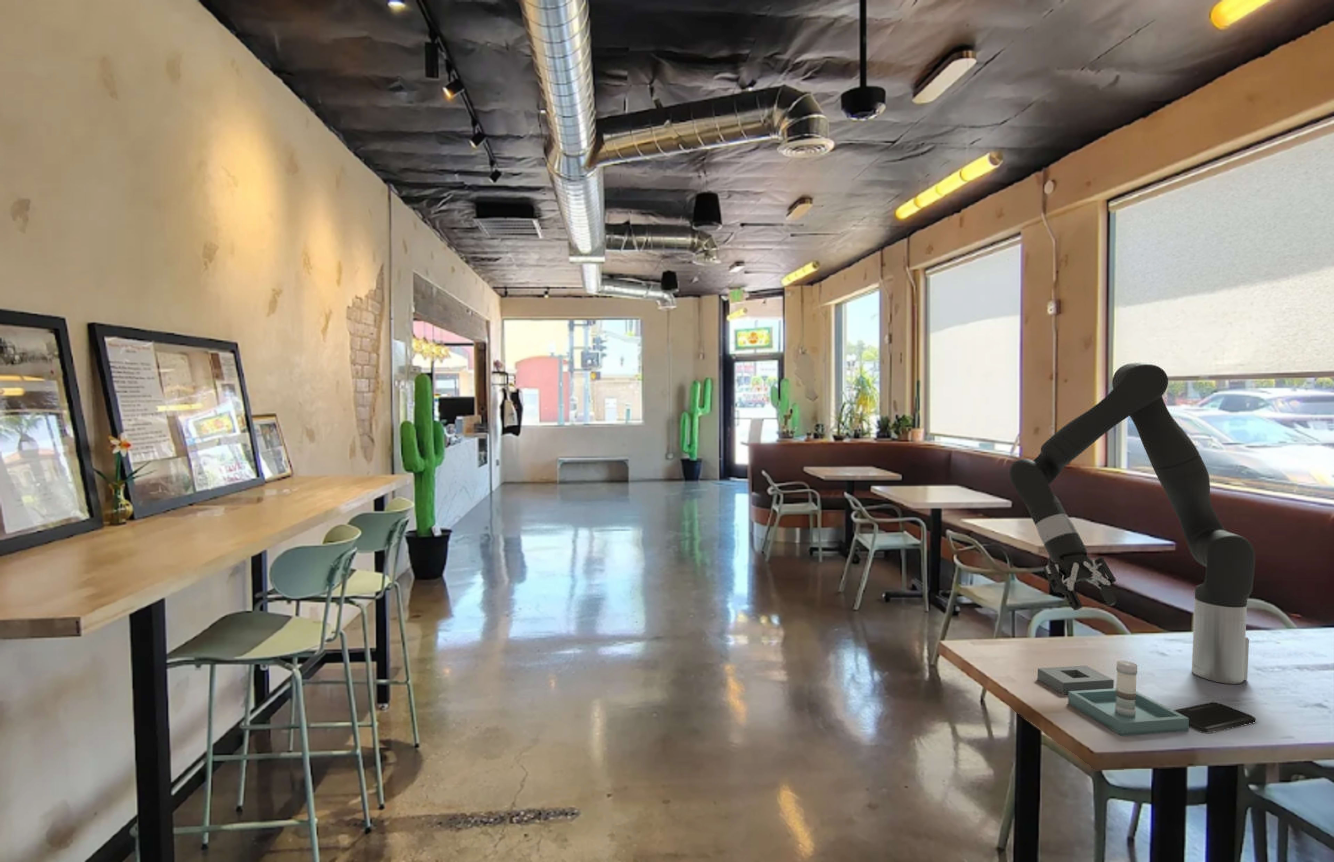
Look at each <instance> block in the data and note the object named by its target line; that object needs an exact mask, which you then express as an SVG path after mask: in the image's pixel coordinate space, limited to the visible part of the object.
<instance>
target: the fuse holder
mask: <svg viewBox="0 0 1334 862" xmlns="http://www.w3.org/2000/svg"><path fill="white" fill-rule="evenodd" d="M1037 680H1038V681H1039V682H1041V683H1043V684H1045V685H1046V686H1047V687H1050V688H1051V689H1053V690H1055V691H1057V692H1058V693H1060V694H1062V695H1068V692H1069V691H1081V690H1097V689H1113V688H1114V682H1115V681H1114V678H1111V677H1109V676H1107V675H1105V674H1103V673H1101V672H1099V671H1098V670H1096V669H1093V668H1091V667H1090V666H1088V665H1071V666H1054V667H1053V666H1052V667H1038V668H1037Z"/></svg>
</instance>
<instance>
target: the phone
mask: <svg viewBox="0 0 1334 862" xmlns="http://www.w3.org/2000/svg"><path fill="white" fill-rule="evenodd" d="M1173 710H1174V711H1176V712H1178V713H1180V714H1181V715H1183V716H1185V717H1187V718H1189V727H1188V728H1191V729H1193V730H1196V731H1198V732H1200V731H1201V732H1200V733H1204V732H1211V733H1214V732H1213V731H1216V732H1220V731H1223V730H1224V729H1225V730H1229V729H1233V728H1238V727H1242V726H1241V725H1243V726H1245V725H1244V724H1247V725H1250V724H1249V723H1252V724H1254V723H1253V722H1255V723H1256V717H1255V716H1253V715H1251V714H1248V713H1246V712H1244V711H1241V710H1239V709H1238V710H1237V709H1235V708H1233V707H1230V706H1228V705H1225V704H1223V703H1220V702H1215V701H1214V702H1213V701H1212V702H1207V703H1202V704H1196V705H1191V706H1186V707H1183V708H1178V709H1173ZM1232 727H1233V728H1232ZM1228 728H1229V729H1228ZM1219 730H1220V731H1219ZM1225 730H1224V731H1225Z"/></svg>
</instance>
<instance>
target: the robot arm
mask: <svg viewBox="0 0 1334 862" xmlns="http://www.w3.org/2000/svg"><path fill="white" fill-rule="evenodd" d="M1111 384H1112V390H1111V391H1110V392H1109V393H1108V394H1107V395H1106V396H1105V397H1104V398H1103V399H1101V400H1100V401H1099V402H1097V404H1095V405H1094V406H1093V407H1091V408H1090V409H1088V410H1087V411H1085V412H1084V413H1082V414H1080V415H1079V416H1077V417H1076V418H1074V419H1073V420H1071V421H1069V422H1068V423H1066V424H1065V425H1064V426H1062V428H1060V429H1059V430H1057V432H1055V433H1054V434H1053V435H1051V437H1049V438H1048V439H1047V440H1046V441H1045V442H1044V443H1043V444H1042V445H1041V447H1040V453H1039V454H1038V455H1037V456H1036V457H1035V458H1034V459H1033V460H1032V459H1029V458H1022V459H1018V460H1016V461H1014V462H1013V463H1012V464H1011V466H1010V467H1009V471H1008V474H1009V479H1010V482H1011V483H1012V486H1013V487H1014V489H1015V491H1016V492H1017V494H1018V495H1019V496H1020V499H1021V500H1022V502H1023V503H1024V505H1025V506H1026V508H1027V510H1028V513H1029V515H1030V517H1031V519H1032V522H1033V523H1034V526H1035V527H1036V530H1037V533H1038V536H1039V538H1040V540H1041V542H1042V544H1043V547H1044V548H1045V550H1046V553H1047V554H1048V556H1049V558H1050V560H1051V562H1050V563H1049V564H1047V565H1046V566H1045V567H1043V571H1044V573H1045V576H1046V577H1047V580H1048V583H1049V584H1050V587H1051V590H1052V591H1053V592H1054V593H1060V594H1062V595H1064V597H1065V598H1066V601H1067V603H1068V605H1069V607H1071V608H1072V610H1074V611H1079V610H1080V609H1082V608H1083V605H1082V603H1081V600H1080V598H1079V596H1078V594H1077V592H1076V590H1074V585H1075V583H1077V582H1087V583H1089V584H1093V586H1095V587H1097V588H1098V589H1099V592H1100V594H1101V596H1102V598H1103V599H1104V601H1105V603H1106V605H1107V606H1109V607H1110V606H1113V605H1115V604H1117V597H1116V595H1115V594H1114V591H1113V589H1112V588H1111V585H1112V584H1114V583H1116V581H1117V579H1116V577H1115V576H1114V574H1113V572H1112V571H1111V569H1110V568H1109V565H1108V564H1107V562H1106V561H1105V560H1104V559H1105V558H1103V557H1102V556H1100V557H1097V558H1095V559H1091V558H1090V557H1089V556H1088V550H1087V548H1086V545H1085V544H1084V542H1083V539H1082V538H1081V536H1080V534H1079V532H1078V531H1077V528H1076V526H1075V525H1074V523H1073V521H1072V520H1071V519H1070V517H1069V516H1068V514H1067V512H1066V511H1065V509H1064V507H1063V505H1062V503H1061V502H1060V500H1059V499H1058V497H1057V496H1056V495H1055V494H1054V493H1053V491H1052V489H1051V487H1050V485H1051V484H1052V483H1053V481H1054V480H1055V479H1056V478H1057V477H1058V476H1059V475H1060V474H1061V472H1062V471H1063V470H1064V468H1065V467H1066V466H1067V465H1068V464H1070V463H1072V462H1073V460H1075V459H1076V458H1078V456H1080V454H1082V453H1084V452H1085V451H1086V450H1087V449H1088V448H1089V447H1090V446H1092V445H1093V444H1094V443H1095V442H1096V441H1098V440H1099V439H1100V438H1101V437H1102V436H1104V435H1105V434H1106V433H1107V432H1109V431H1110V430H1111V429H1113V428H1114V427H1115V426H1117V425H1118V424H1120V423H1121V422H1122V421H1124V420H1126V419H1127V418H1128V417H1130V419H1131V420H1132V422H1133V424H1134V426H1135V428H1136V431H1137V433H1138V435H1139V437H1140V441H1141V443H1142V446H1143V448H1144V450H1145V453H1146V456H1147V457H1148V459H1149V462H1150V465H1151V467H1152V469H1153V471H1154V473H1155V475H1156V477H1157V478H1158V479H1157V480H1158V481H1159V482H1160V485H1161V487H1162V488H1163V490H1164V492H1165V495H1166V497H1167V498H1168V501H1169V502H1170V505H1171V506H1172V508H1173V510H1174V512H1175V515H1176V516H1177V518H1178V521H1179V523H1180V525H1181V529H1182V532H1183V535H1184V538H1185V541H1186V544H1187V546H1188V550H1189V551H1190V554H1191V556H1192V557H1193V559H1194V560H1195V561H1196V562H1197V563H1198V564H1200V565H1202V566H1203V567H1205V568H1206V569H1205V577H1204V581H1203V583H1200V584H1198V585H1196V586H1195V589H1194V610H1193V611H1194V612H1193V614H1194V615H1193V633H1192V635H1193V636H1192V637H1193V638H1192V655H1191V657H1192V659H1191V672H1192V673H1193V674H1194V675H1196V676H1198V677H1199V678H1202V679H1206V680H1209V681H1212V682H1216V683H1223V684H1231V685H1232V684H1233V685H1235V684H1236V685H1237V684H1242V683H1243V682H1244V681H1247V680H1248V675H1249V674H1248V672H1249V650H1250V648H1249V647H1250V639H1249V637H1247V636H1246V633H1247V632H1246V631H1247V612H1248V611H1247V610H1248V607H1247V606H1248V598H1249V597H1250V596H1251V594H1252V591H1253V587H1254V577H1255V566H1256V554H1255V553H1256V552H1255V550H1254V547H1253V545H1252V543H1251V542H1250V541H1249V540H1248V539H1247V538H1245V537H1244V536H1241V535H1239V534H1236V533H1232V532H1230V531H1227V530H1226V529H1225V527H1224V526H1223V524H1222V523H1221V521H1220V520H1219V518H1218V516H1217V514H1216V512H1215V510H1214V508H1213V505H1212V501H1211V481H1210V476H1209V471H1208V468H1207V467H1206V464H1205V462H1204V460H1203V459H1202V456H1201V454H1200V452H1199V450H1198V448H1197V447H1196V445H1195V444H1194V442H1193V441H1192V439H1191V438H1190V437H1189V435H1188V434H1187V433H1186V432H1185V431H1184V430H1183V427H1181V426H1180V424H1178V422H1177V421H1176V420H1175V419H1174V417H1173V416H1172V414H1171V413H1170V411H1169V410H1168V407H1167V406H1166V403H1165V400H1164V398H1163V395H1164V394H1165V393H1166V390H1167V389H1168V385H1169V377H1168V374H1167V373H1166V371H1165V370H1164V369H1163V368H1161V367H1160V366H1158V365H1156V364H1153V363H1147V362H1131V363H1127V364H1124V365H1122V366H1120V367H1119V368H1117V370H1116V371H1115V372H1114V374H1113V376H1112V382H1111ZM1060 575H1062V576H1060ZM1061 577H1062V578H1061Z"/></svg>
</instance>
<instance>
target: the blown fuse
mask: <svg viewBox="0 0 1334 862" xmlns="http://www.w3.org/2000/svg"><path fill="white" fill-rule="evenodd" d="M1137 674H1138V664H1137V663H1135V662H1132V661H1128V660H1117V661H1116V685H1115V686H1116V687H1115V688H1116V703H1115V712H1116V713H1117V714H1119V715H1121V716H1124V717H1135V716H1136V707H1135V701H1136V691H1137Z"/></svg>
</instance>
